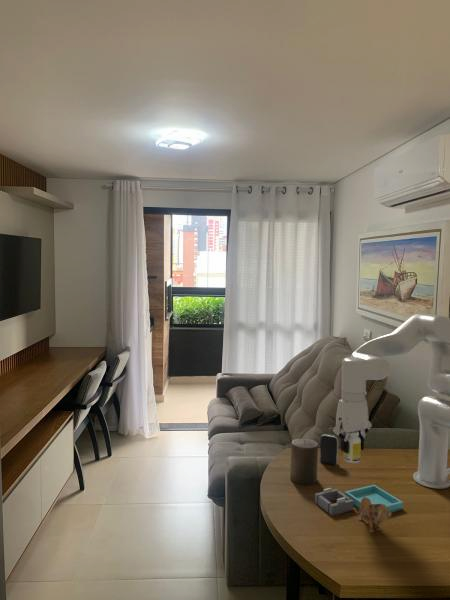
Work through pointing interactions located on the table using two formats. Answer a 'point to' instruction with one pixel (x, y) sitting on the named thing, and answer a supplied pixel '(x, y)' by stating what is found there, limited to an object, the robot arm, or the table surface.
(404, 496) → the table surface
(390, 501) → the tray
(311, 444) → the pillar candle
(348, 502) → the clip holder
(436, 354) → the robot arm
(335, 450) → the battery charger
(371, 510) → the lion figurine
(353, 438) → the supplement bottle
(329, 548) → the table surface
